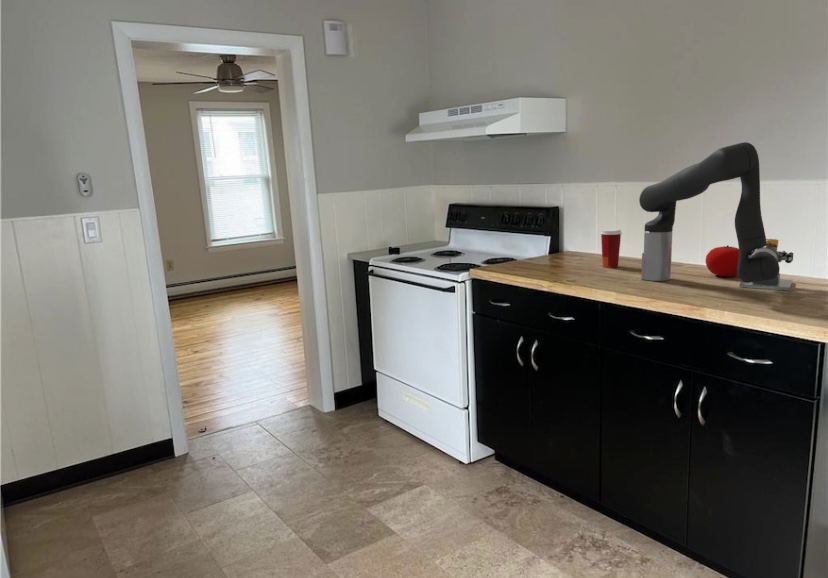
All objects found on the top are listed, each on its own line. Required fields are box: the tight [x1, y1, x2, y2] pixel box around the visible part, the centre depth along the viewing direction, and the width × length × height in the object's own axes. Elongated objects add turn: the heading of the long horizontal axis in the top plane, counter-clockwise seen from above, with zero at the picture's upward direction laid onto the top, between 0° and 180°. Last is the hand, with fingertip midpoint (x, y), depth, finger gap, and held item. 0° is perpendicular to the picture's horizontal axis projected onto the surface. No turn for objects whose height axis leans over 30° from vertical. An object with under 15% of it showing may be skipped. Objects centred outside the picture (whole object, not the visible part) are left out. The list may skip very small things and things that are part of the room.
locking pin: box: [764, 238, 779, 251], centre depth 199 cm, size 4×4×14 cm
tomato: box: [705, 245, 739, 278], centre depth 218 cm, size 12×13×11 cm
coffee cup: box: [599, 228, 622, 269], centre depth 246 cm, size 8×8×15 cm
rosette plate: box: [738, 272, 793, 291], centre depth 200 cm, size 14×14×4 cm
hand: (768, 253), depth 200 cm, fingers open, 8 cm apart
